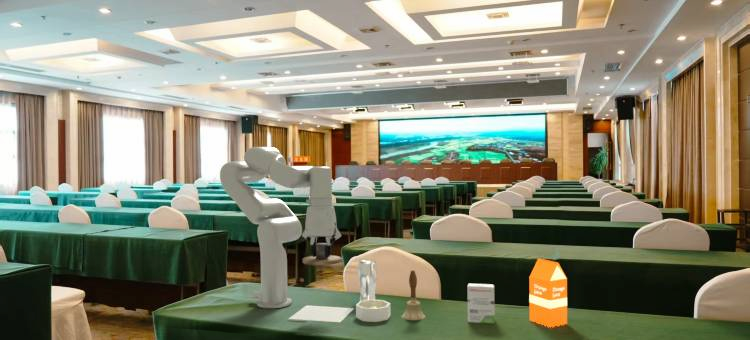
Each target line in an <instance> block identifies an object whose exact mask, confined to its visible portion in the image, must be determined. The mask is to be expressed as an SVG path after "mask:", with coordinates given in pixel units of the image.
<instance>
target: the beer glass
mask: <svg viewBox="0 0 750 340" xmlns="http://www.w3.org/2000/svg"><path fill="white" fill-rule="evenodd" d="M377 267H378V266H377V261H375V260H374V259H373V260H369V259H367V260H363V259H362V260H359V261H358V268H357V276H358V277H357V278H358V284H359V289H360V297H359V301H365V300H370V299H372V300H377V299H376V292H375V291H376V284H377V279H378V278H377V276H378V271H377V270H378V269H377Z"/></svg>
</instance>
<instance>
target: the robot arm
mask: <svg viewBox="0 0 750 340" xmlns="http://www.w3.org/2000/svg"><path fill="white" fill-rule="evenodd" d="M243 159H244V160H234V161H229V162H228V161H227V163H224V164H223V165H222V166H221V168H220V170H219V179H220V184H221V186H222V189H223V190H224V192H225V193H226V194H227V195H228V196H229V198H231V199H232V200H233V201H234V202H235V204H236V205H237V206H238V208H239V209H240V211H241V212H242V213H243V214H244V215H245V216H246V218H247V219H248V220H249V222H251V223H252V224H253V225H258V227H257V229H256V230H257V231H256V232H257V234H256V235H257V239H258V244H259V251H260V291H252V293H251V298H252V299H258V300H257V301H256V306H257V307H259V308H262V309H281V308H285V307H288V306H290V305H292V303H293V300H292V298H290V297H289V296H288V258H287V252H286V249H285V247H284V246H283V244H284V243H290V242H293V241H296V240H299V238H300V237H301V236H302V237H303V238H304V239H306V241H307V242H309V244H310V246H311V255H312V256H313V257H315V256H316V244H317V242H318V241H317V240H318V238H320V237H321V238H325V241H326V243H327V245H326V257H329V256H331V255H332V254H333V251H332V250H333V249H332V248H333V246H332V245H333V244H334V243H335V242H336V241H337V240H338V239H340V238H341V237H342V234H341V232H340V230H339V228H338V227H337V216H336V215H337V214H336V211H335V210H336V209H335V206H333V198H332V197H333V186H332V185H333V184H332V183H333V181H332V179H333V178H332V175H333V174H332V173H333V172H332V169H331V167H329V166H313V165H293V166H291V165H287V162H286V158H285V157H284V156H283V155H282V154H281V152H280V150H278V149H277V148H276V147H274V146H253V147H250V148H248V149H247V150H246V152H244V156H243ZM268 176H269V178H270V179H271V181H272V182H273V183H275V184H277V185H278V186H282V187H284V188H288V189H300V188H302V189H303V188H304V189H305V188H309V197H308V199H306V201H305V203H306V204H309V206H307V208H306V212H305V215H306V216H305V222H304V224H305V226H304V230H303V226H302V223H301V221H300V220H299V218H298V217H297V215H295V214H294V212H293V211H292V210H291V209H290V208H289V207H288V205H287V204H286V203H285V202H284V201H283V200H281V199H279V198H276V197H269V198H264V197H262V196H260V195H259V193H258V192H257V191H256V190H255V189H254V188H253V187H252V186H251V185H248V183H256V182H259V181H262V180H263V179H265V178H266V177H268ZM246 183H247V184H246Z"/></svg>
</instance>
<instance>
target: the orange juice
mask: <svg viewBox="0 0 750 340" xmlns="http://www.w3.org/2000/svg"><path fill="white" fill-rule="evenodd" d="M528 279H529V286H528V287H529V294H528V295H529V296H528V297H529V298H528V303H529V321H530V322H533V323H535V322H536V323H535V324H538V325H540V324H541V325H540V326H543V325H544V326H543V327H546V326H547V327H546V328H549V327H550V328H549V329H552V328H556V327H555V326H557V327H561V326H565V324H566V325H568V277H567V276H566V274H565V272H564V271H563V269H562V267H561V265H560V263H559V262H557V261H552V260H548V259H543V258H539V257H538V258H537V260H536V261H535V265H534V267H533V269H532V271H531V273H530V275H529V277H528ZM560 325H561V326H560ZM551 327H552V328H551Z"/></svg>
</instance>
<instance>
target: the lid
mask: <svg viewBox="0 0 750 340" xmlns="http://www.w3.org/2000/svg"><path fill="white" fill-rule="evenodd" d="M316 243H317V242H316ZM326 245H327V242H318V243H317V244H316V256H315V257H313V255H309V256H306V257H303V258H302V263H303V264H304V265H309V266H329V265H335V264H339V263H341V262H342V257H341V256H338V255H332V254H331V256H329V257H326Z"/></svg>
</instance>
